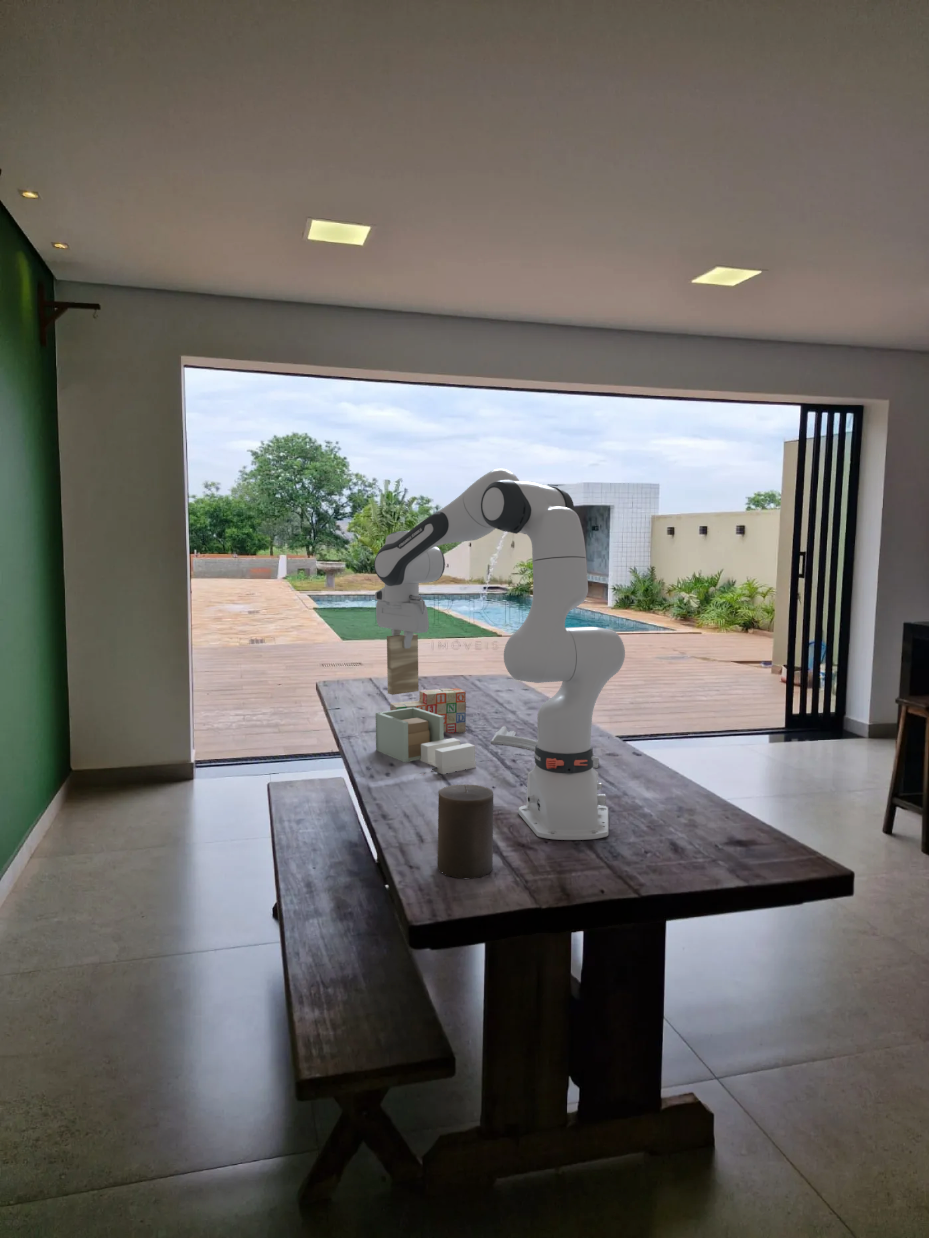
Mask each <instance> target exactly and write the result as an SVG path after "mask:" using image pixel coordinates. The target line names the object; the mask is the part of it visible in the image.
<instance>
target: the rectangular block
mask: <svg viewBox="0 0 929 1238" xmlns="http://www.w3.org/2000/svg"><path fill="white" fill-rule="evenodd" d="M413 634H414V635H413V638H412V640H411V647H410V648H403V647H402V641H404V638H405V635H404V634H400V635H395V636H392V635H387V636H386V654H387V655H386V662H387V663H386V664H387V667H386V668H387V669H386V670H387V673H386V674H387V675H386V676H387V677H386V678H387V694H389V695H392V696H393V695H401V694H408V693H415V692H420V690H419V689H420V688H419V635H418V633H413Z"/></svg>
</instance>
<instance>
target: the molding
mask: <svg viewBox="0 0 929 1238" xmlns="http://www.w3.org/2000/svg"><path fill="white" fill-rule="evenodd" d="M516 735H517V732H516V731H515V730H510V731H508V728H507V726H506V725H503V726H501V727H500V729H499V730H497V731H496V732H495V734H494V735H493V737H492V739H490V744H491V745H502V744H503V745H504V746H512V747H516V748H523V749H527V750H530V751H533V752H535V746H536V745H537V739H532V738H528V737H523V736H516ZM503 745H502V746H503ZM599 759H600V757H599V756H594V758H593V769H598V768H599V763H600V760H599Z"/></svg>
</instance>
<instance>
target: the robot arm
mask: <svg viewBox="0 0 929 1238" xmlns="http://www.w3.org/2000/svg"><path fill="white" fill-rule="evenodd" d="M495 529H497V530H498V531H502V532H505V533H512V534H515V535H516V534H517V535H518V534H519V533H520V534H523V535H527V536H528V538H529V539H530V541H531V550H532V551H531V557H532V577H533V578H532V580H533V581H532V582H533V584H532V587H533V588H532V592H533V593H532V602H531V606H530V609H529V612H528V614H527V616H526V619H525V620H524V622H523V623H522V625H521V626H520V627H519V628H518V629H517V630H516V631H515V632H514V633H513V634H512V635H510V637H509V638H508V639H507V641H506V644H505V646H504V650H503V663H504V666H505V667H506V670H507V672H508V674H509V675H510V676H511V677H512V678H513V679H514V680H516V681H521V682H527V683H534V684H539V683H541V684H543V683H555V682H557V683H558V682H561V686H560V688H559V689H558V691H557V692H556V693H555V694H554V695H553V696H552V697H550V698H549V699H547V700H545V701H544V702H543V703H542V704H541V706H540V707H539V709H538V712H537V716H536V717H537V722H536V723H537V725H536V728H537V738H536V741H537V745H536V746H535V751H534V763H535V765H534V767H533V768H532V770H530V771H529V772H528V773H527V781H526V782H527V785H526V805H525V804H524V805H522V806H519V807H518V810H517V813H518V815H519V816H520V817H521V818H522V819H523V821H524V822H525V823H526V825H528V827H529V828H530V829H531V830H532V832H533V833H534V834H535V835H536V836H537V837H538V838H542V839H550V840H557V841H558V840H561V841H563V840H564V841H581V840H582V841H584V840H596V839H602V838H606V837H608V836H609V834H610V833H609V832H610V831H609V829H610V828H609V827H610V825H609V824H610V823H609V807H608V806H607V804H606V803H607V796H606V795H607V794H605V793H599V791H600V790H601V791H602V790H603V782H599V772H598V771H597V770H596V769H595V768H593V758H594V757H595V755H594V752H593V750H594V749H593V747H592V745H591V743H592V724H593V714H594V709H595V706H596V703H597V700H598V697H599V695H600V694H601V691H602V690H603V689H604V687H605V686H606V684H607V683H608V682H609V680H611V678H613V677H614V676H615V675H616V674H617V673H619V671H620V670H621V669H622V667H623V665H624V662H625V658H626V650H625V644H624V642H623V640H622V638H621V636H620V635H619V634H618V632H616V631H615V630H613V629H609V628H605V627H597V626H575V627H574V626H573V627H566V620H567V619H566V618H567V617H568V614H569V612H571V611H573V610H574V609H576V608H577V607H579V606H581V605H582V604H583V603H584V602H585V600H586V598H587V597H588V593H589V583H588V582H589V581H588V565H587V552H586V543H585V537H584V530H583V527H582V523H581V520H580V517H579V515H578V514H577V512H576V511H575V505H574V502H573V499H572V497H571V496H570V494H569V493H568V492H566V491H565V490H563V489H561V488H559V487H556V486H552V485H545V484H540V483H536V482H533V481H526V480H520V478H518V476H516V474H514V473H513V472H512V471H510V470H508V469H506V468H496V469H495V468H494V469H492V470H490V471H489V472H487V473H486V474H484V475H483V476H481V477H480V478H479V479H477V480H476V481H474V482H473V483H472V484H471V485H470V486H469V487H467V488H466V489H465V490H464V491H463V492H462V493H461V494H460V495H459V496H458V497H457V498H456V497H455V499H453V500H452V501H451V502H450V503H448V504H446V505H445V506H444V507H442V508H441V509H439V510H437V511H436V512H434V513H433V514H431V515H429V516H428V517H427V518H424V519H423V520H422V521H421V522H420V523H418V524H417V525H416V526H414V527H413V528H412V529H411V530H400V531H395V532H391V533H389V534H388V535H386V538H385V543H384V545H383V546H381V547H380V548H379V551H378V552H377V554H376V555H375V557H374V563H373V566H374V567H373V569H374V572H375V573H376V576H377V577H378V579H379V580H380V581H381V582H383V584H384V586H383V587H382V588H381V589H379V590H377V591H376V592H375V594H374V597H375V600H376V604H375V606H376V607H375V614H376V615H375V616H376V623H377V626H378V627H379V628H382V629H383V628H385V629H390V630H391V636H395V635H401V633H402V631H403V635H405V638H404V641H402V647H403V648H410V647H411V640H412V638H413V635H414V634H422V633H424V634H425V633H427V632H428V630H429V628H430V626H429V614H428V607H427V604H426V602H425V600H424V599H423V597H422V596H421V595H420V593H419V592H420V591H419V590H420V589H419V587H420V586H419V585H420V584H422V583H424V584H425V583H427V584H428V583H433V582H437V581H438V580H439V579H441V577H442V576H443V574H444V572H445V568H446V560H445V556H444V553H443V551H442V549H440V548H439V547H438V546H441V545H446V544H454V543H462V542H463V543H464V542H470V541H476V540H479V539H481V538H483V537H485V536H487V535H489V534H490V533H492V532H493V531H494V530H495Z"/></svg>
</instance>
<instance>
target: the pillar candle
mask: <svg viewBox="0 0 929 1238" xmlns="http://www.w3.org/2000/svg"><path fill="white" fill-rule="evenodd" d="M437 801H438V803H437V805H438V809H437V812H438V813H437V816H438V817H437V818H438V819H437V823H438V824H437V868H438V871H439V870H440V871H439V872H440V873H441V872H443V873H442V874H443V875H444V874H446V875H445V876H447V877H450V876H452V878H457V879H462V878H470V879H474V878H475V879H476V878H480V877H483V876H486V874H487V875H488V874H490V873H491V872H492V871H493V867H494V866H493V864H494V860H493V857H494V856H493V855H494V853H493V851H494V848H493V847H494V791H493V789H492V788H491V787H490V788H489V787H485V786H482V785H478V784H463V783H462V784H451V785H447V786H445V787H442V788H441V789H439V790H438V800H437Z"/></svg>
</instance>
